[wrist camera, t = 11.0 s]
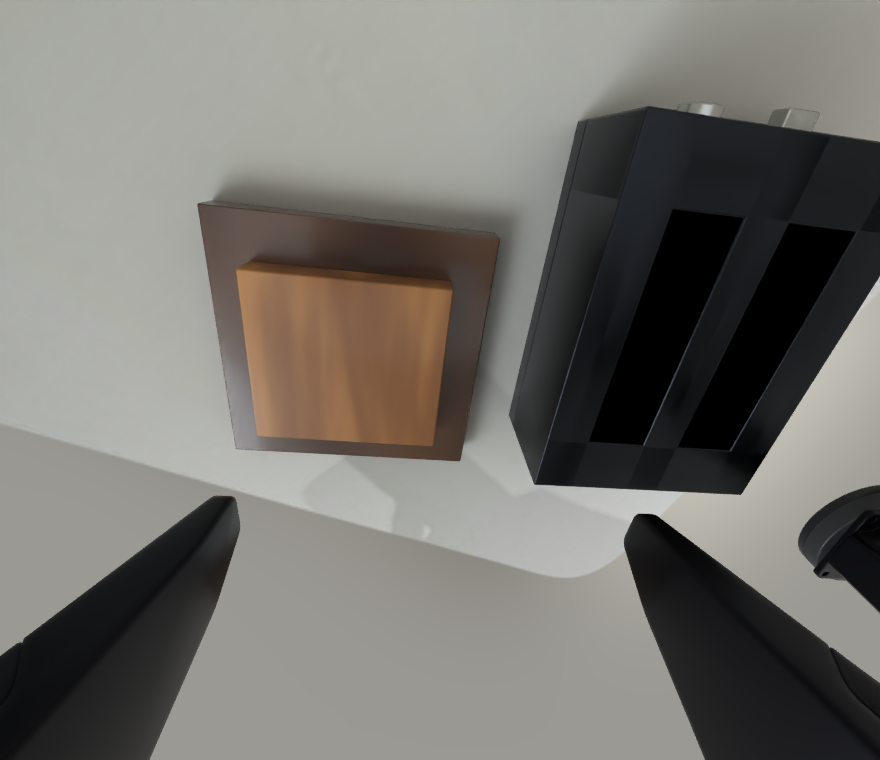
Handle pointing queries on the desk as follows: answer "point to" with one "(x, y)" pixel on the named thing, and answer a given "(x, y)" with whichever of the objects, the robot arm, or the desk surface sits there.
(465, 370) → the board
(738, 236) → the toaster
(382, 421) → the toast
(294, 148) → the desk surface
